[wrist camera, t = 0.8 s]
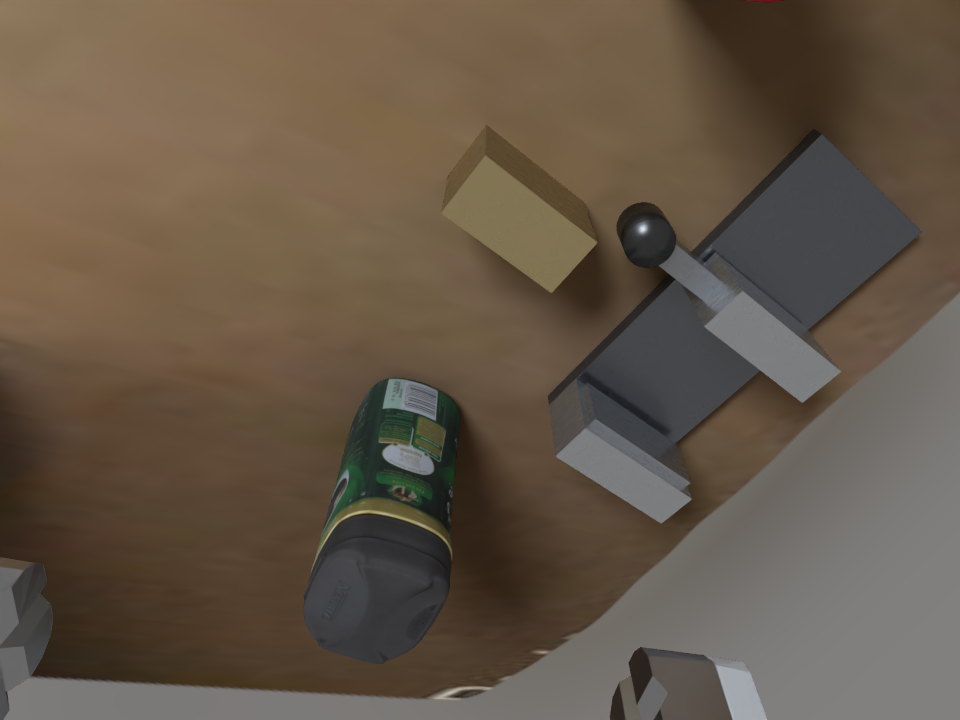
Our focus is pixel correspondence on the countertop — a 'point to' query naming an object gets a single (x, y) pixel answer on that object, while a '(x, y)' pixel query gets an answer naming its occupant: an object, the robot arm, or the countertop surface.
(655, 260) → the lever
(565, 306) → the countertop surface
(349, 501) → the coffee jar
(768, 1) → the soda can
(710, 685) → the robot arm
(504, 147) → the brass block
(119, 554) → the countertop surface
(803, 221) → the vise bed
